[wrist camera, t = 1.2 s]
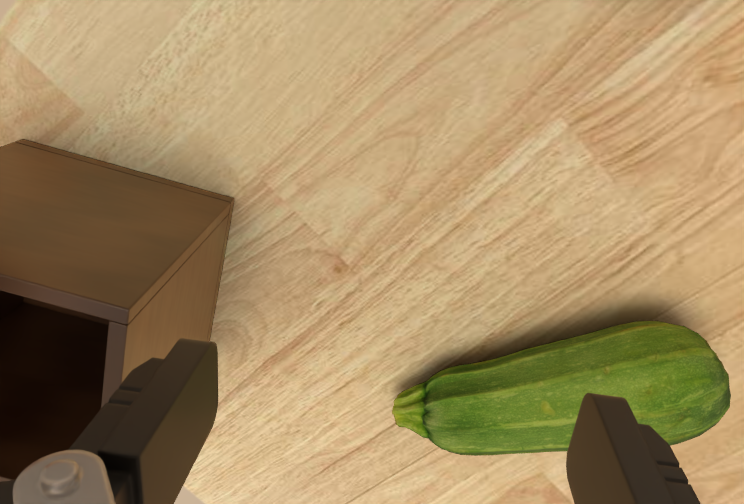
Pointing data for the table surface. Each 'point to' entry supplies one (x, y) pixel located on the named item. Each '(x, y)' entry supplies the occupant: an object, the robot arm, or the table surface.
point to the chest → (93, 287)
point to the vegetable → (571, 391)
